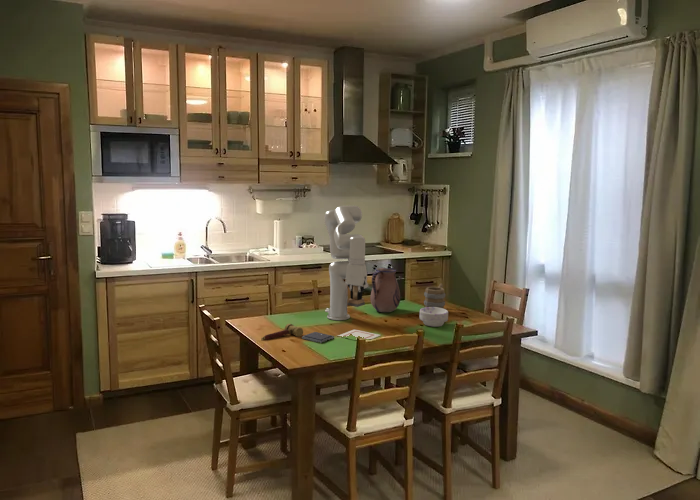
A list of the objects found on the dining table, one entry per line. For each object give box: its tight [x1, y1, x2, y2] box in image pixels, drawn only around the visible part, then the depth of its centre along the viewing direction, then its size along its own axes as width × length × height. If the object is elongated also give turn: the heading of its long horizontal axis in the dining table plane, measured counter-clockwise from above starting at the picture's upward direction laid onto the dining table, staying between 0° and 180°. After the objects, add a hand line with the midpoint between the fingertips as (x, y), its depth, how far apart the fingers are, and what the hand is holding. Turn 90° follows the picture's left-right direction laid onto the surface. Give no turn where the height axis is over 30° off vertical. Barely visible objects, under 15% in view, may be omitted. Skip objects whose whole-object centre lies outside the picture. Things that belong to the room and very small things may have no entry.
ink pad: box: [301, 331, 335, 344], centre depth 275 cm, size 12×10×2 cm
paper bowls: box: [418, 306, 449, 328], centre depth 303 cm, size 15×15×8 cm
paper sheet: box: [337, 328, 381, 340], centre depth 280 cm, size 16×15×1 cm
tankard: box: [423, 283, 446, 309], centre depth 334 cm, size 20×13×15 cm, turn 150°
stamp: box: [347, 285, 366, 308], centre depth 277 cm, size 6×6×10 cm
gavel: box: [260, 323, 304, 341], centre depth 277 cm, size 21×5×10 cm
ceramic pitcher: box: [370, 267, 401, 313], centre depth 329 cm, size 18×21×25 cm
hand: (356, 298), depth 277 cm, fingers closed on stamp, 3 cm apart
